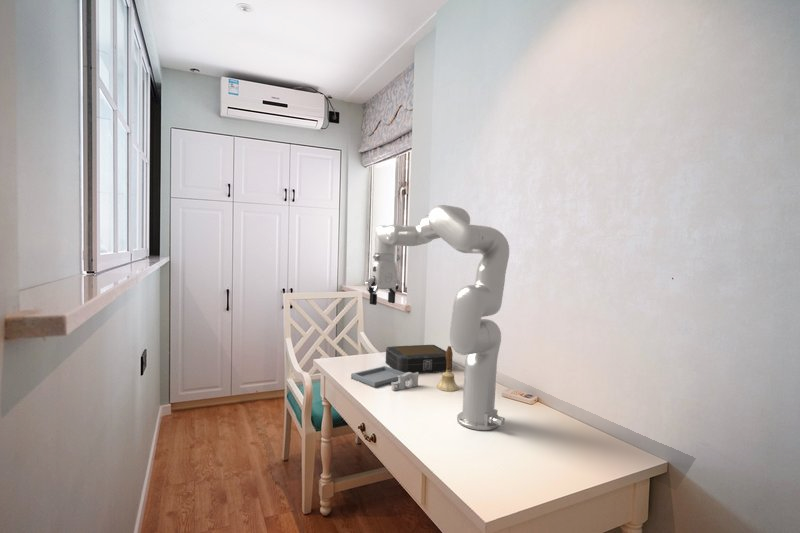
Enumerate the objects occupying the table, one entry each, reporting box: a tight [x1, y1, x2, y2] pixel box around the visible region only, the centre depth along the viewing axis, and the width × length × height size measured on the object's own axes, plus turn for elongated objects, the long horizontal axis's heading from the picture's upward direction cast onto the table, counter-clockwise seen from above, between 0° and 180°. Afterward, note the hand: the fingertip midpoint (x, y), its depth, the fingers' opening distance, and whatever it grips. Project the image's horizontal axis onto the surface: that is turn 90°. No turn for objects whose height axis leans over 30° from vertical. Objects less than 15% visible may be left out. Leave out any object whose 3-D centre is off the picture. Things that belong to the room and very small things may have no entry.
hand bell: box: [436, 345, 459, 392], centre depth 159 cm, size 8×8×16 cm
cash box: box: [385, 344, 453, 375], centre depth 186 cm, size 25×20×8 cm
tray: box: [350, 365, 405, 389], centre depth 166 cm, size 14×18×2 cm
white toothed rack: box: [391, 372, 420, 392], centre depth 157 cm, size 12×2×6 cm, turn 126°
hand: (382, 303), depth 158 cm, fingers open, 9 cm apart
